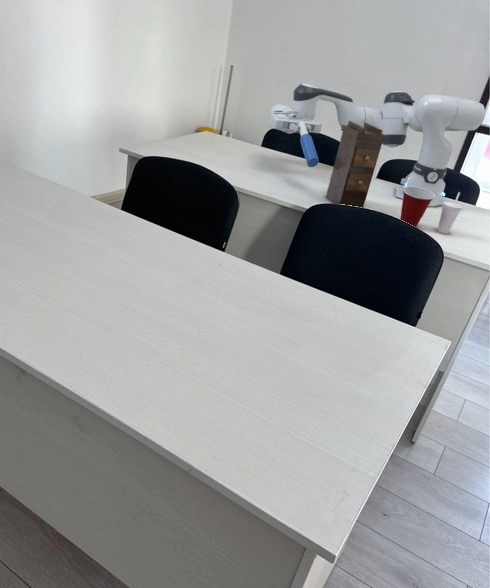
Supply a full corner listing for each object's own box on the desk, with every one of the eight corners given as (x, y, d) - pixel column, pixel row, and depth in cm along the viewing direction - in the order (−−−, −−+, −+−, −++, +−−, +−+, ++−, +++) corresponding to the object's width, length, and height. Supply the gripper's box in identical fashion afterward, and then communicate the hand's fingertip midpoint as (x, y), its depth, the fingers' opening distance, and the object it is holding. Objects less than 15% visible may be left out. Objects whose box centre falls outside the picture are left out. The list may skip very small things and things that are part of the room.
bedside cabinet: (324, 196, 218) (343, 119, 203) (349, 198, 221) (371, 122, 206) (340, 209, 206) (362, 129, 192) (367, 211, 210) (390, 132, 195)
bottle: (293, 128, 226) (298, 119, 222) (304, 129, 227) (308, 120, 223) (305, 166, 217) (310, 157, 213) (316, 167, 218) (320, 158, 215)
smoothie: (453, 236, 198) (469, 196, 191) (434, 232, 199) (449, 192, 192) (450, 230, 204) (465, 191, 197) (432, 226, 205) (446, 187, 197)
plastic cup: (391, 225, 199) (402, 191, 193) (393, 216, 208) (403, 183, 202) (423, 233, 197) (436, 198, 190) (423, 224, 206) (435, 191, 199)
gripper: (311, 131, 239) (325, 140, 227) (265, 127, 233) (277, 135, 222) (315, 115, 235) (329, 123, 224) (268, 110, 229) (281, 118, 218)
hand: (303, 129), depth 223 cm, fingers closed on bottle, 3 cm apart
